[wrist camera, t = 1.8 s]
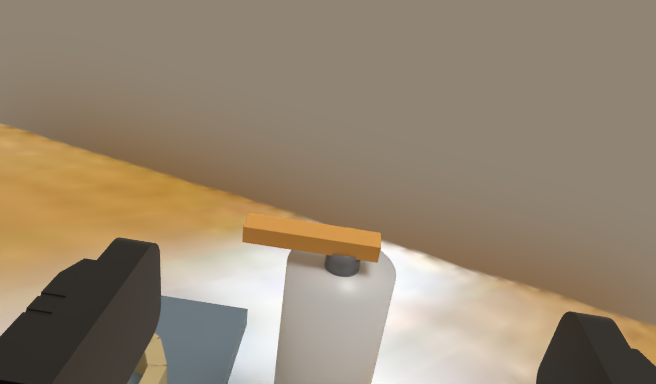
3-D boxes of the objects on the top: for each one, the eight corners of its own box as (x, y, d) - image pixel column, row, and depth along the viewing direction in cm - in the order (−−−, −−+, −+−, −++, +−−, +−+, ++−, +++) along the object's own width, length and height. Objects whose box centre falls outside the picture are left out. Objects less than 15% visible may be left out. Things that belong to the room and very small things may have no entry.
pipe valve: (352, 428, 32) (401, 214, 25) (348, 508, 28) (406, 278, 20) (243, 410, 32) (258, 193, 25) (221, 487, 28) (232, 251, 20)
